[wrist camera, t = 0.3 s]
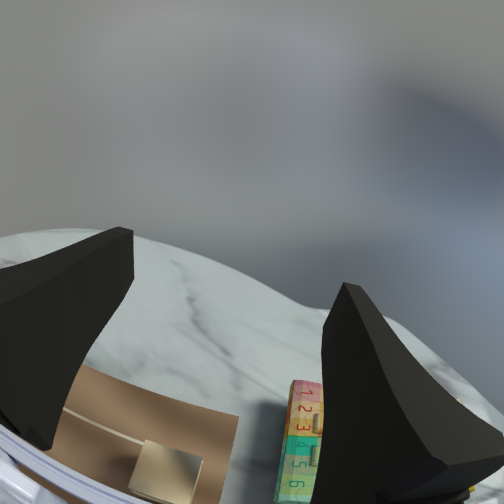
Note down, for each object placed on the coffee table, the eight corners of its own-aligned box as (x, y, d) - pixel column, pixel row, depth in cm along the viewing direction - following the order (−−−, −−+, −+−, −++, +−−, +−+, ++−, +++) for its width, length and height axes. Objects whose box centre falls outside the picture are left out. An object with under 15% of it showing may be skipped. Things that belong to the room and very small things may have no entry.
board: (203, 559, 13) (205, 562, 12) (-32, 436, 14) (-47, 424, 13) (236, 422, 25) (241, 411, 24) (27, 342, 26) (19, 326, 24)
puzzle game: (296, 374, 26) (464, 394, 25) (283, 398, 28) (441, 415, 27) (280, 499, 16) (481, 487, 15) (265, 506, 19) (450, 501, 18)
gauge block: (188, 512, 16) (188, 507, 13) (137, 496, 16) (127, 487, 14) (200, 470, 19) (202, 456, 17) (152, 456, 19) (145, 439, 17)
